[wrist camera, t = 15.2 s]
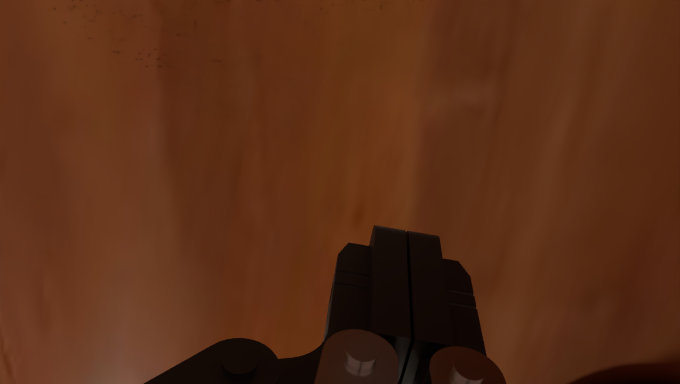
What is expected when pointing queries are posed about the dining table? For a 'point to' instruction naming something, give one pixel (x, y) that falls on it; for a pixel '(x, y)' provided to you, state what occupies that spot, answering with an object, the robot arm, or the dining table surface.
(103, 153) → the dining table surface
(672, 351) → the dining table surface
